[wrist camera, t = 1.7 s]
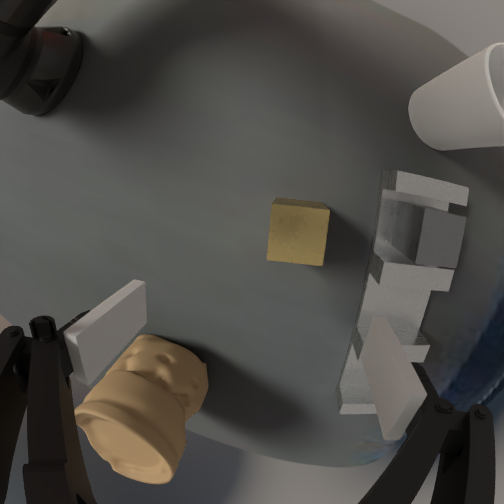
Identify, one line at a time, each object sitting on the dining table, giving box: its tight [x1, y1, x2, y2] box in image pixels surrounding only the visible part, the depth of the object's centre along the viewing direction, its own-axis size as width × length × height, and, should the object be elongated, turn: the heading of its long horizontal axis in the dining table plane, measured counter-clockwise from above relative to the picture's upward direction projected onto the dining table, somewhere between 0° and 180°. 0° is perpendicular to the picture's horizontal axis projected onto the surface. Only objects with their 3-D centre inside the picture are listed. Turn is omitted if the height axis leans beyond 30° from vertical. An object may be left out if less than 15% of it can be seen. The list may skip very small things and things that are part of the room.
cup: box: [408, 43, 504, 151], centre depth 18 cm, size 8×8×16 cm
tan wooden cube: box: [267, 198, 330, 266], centre depth 28 cm, size 5×5×7 cm
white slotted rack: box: [336, 170, 469, 414], centre depth 28 cm, size 30×9×8 cm, turn 176°
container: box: [74, 334, 209, 484], centre depth 30 cm, size 13×13×18 cm
